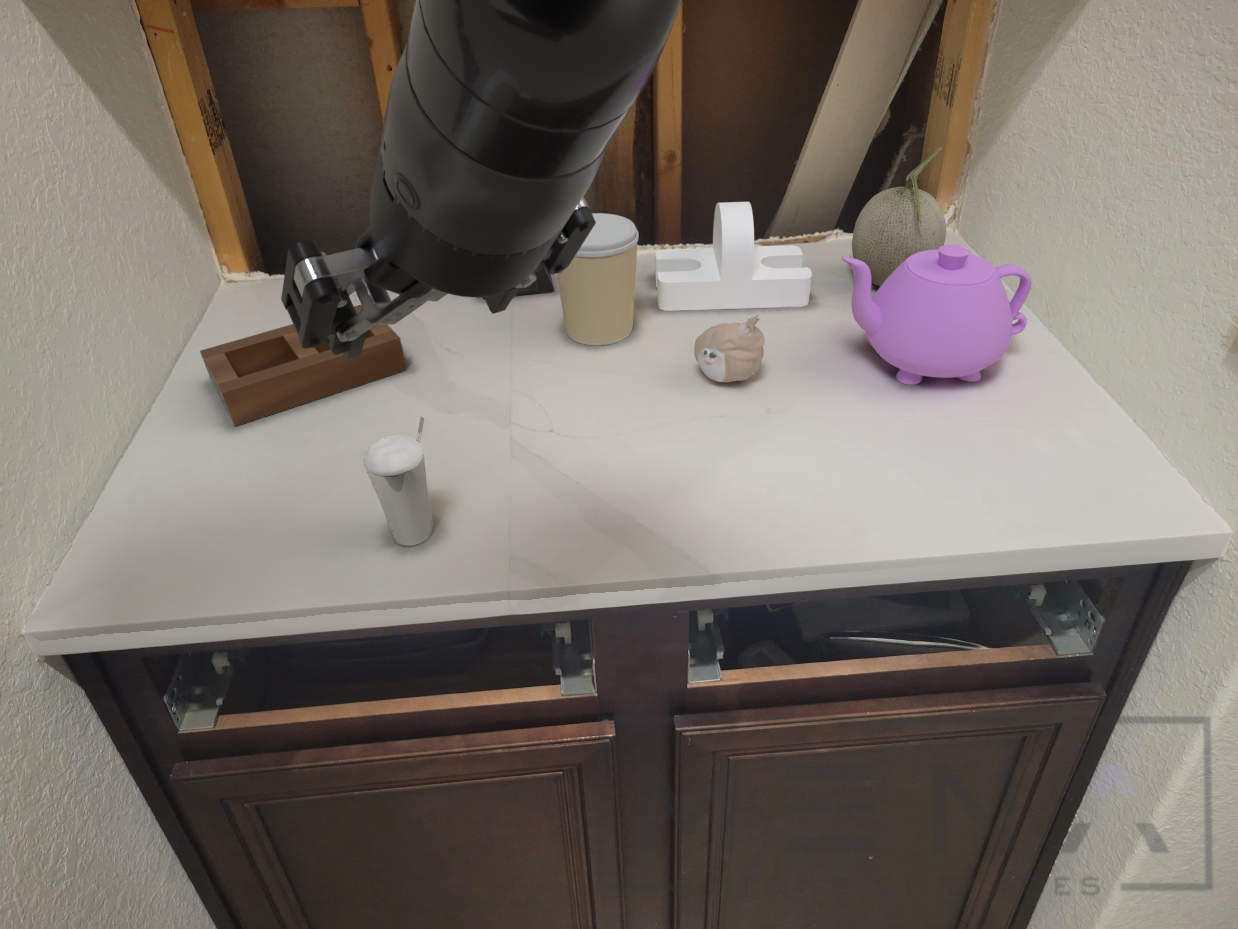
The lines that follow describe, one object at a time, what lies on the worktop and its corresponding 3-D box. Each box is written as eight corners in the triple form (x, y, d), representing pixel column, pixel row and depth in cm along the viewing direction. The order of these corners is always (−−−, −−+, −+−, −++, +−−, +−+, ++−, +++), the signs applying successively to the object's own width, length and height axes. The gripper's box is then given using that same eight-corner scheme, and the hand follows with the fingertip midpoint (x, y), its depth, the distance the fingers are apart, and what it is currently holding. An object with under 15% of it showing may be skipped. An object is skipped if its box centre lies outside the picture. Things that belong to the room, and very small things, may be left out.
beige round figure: (712, 399, 82) (716, 328, 77) (685, 369, 87) (686, 300, 82) (770, 384, 84) (777, 314, 79) (740, 356, 88) (745, 287, 84)
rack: (407, 370, 88) (400, 337, 86) (235, 427, 81) (221, 392, 78) (374, 334, 95) (366, 302, 92) (212, 383, 87) (199, 350, 85)
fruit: (856, 305, 97) (877, 178, 88) (839, 264, 106) (856, 145, 97) (946, 304, 96) (976, 176, 87) (921, 263, 106) (946, 144, 96)
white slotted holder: (655, 276, 105) (654, 192, 98) (795, 272, 105) (805, 187, 98) (658, 311, 97) (658, 222, 91) (810, 306, 97) (821, 217, 90)
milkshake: (459, 527, 68) (439, 429, 62) (404, 560, 65) (378, 460, 59) (428, 503, 70) (406, 406, 64) (374, 533, 68) (345, 435, 61)
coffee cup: (620, 304, 99) (617, 206, 92) (653, 338, 92) (653, 235, 85) (547, 320, 96) (538, 221, 89) (575, 356, 89) (568, 252, 82)
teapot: (842, 403, 81) (861, 286, 73) (810, 333, 92) (824, 225, 84) (1044, 393, 81) (1084, 275, 73) (987, 325, 92) (1017, 217, 85)
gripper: (604, 40, 34) (506, 227, 48) (250, 100, 28) (261, 293, 42) (681, 204, 33) (559, 342, 48) (339, 301, 27) (319, 425, 42)
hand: (420, 318), depth 45 cm, fingers open, 8 cm apart
